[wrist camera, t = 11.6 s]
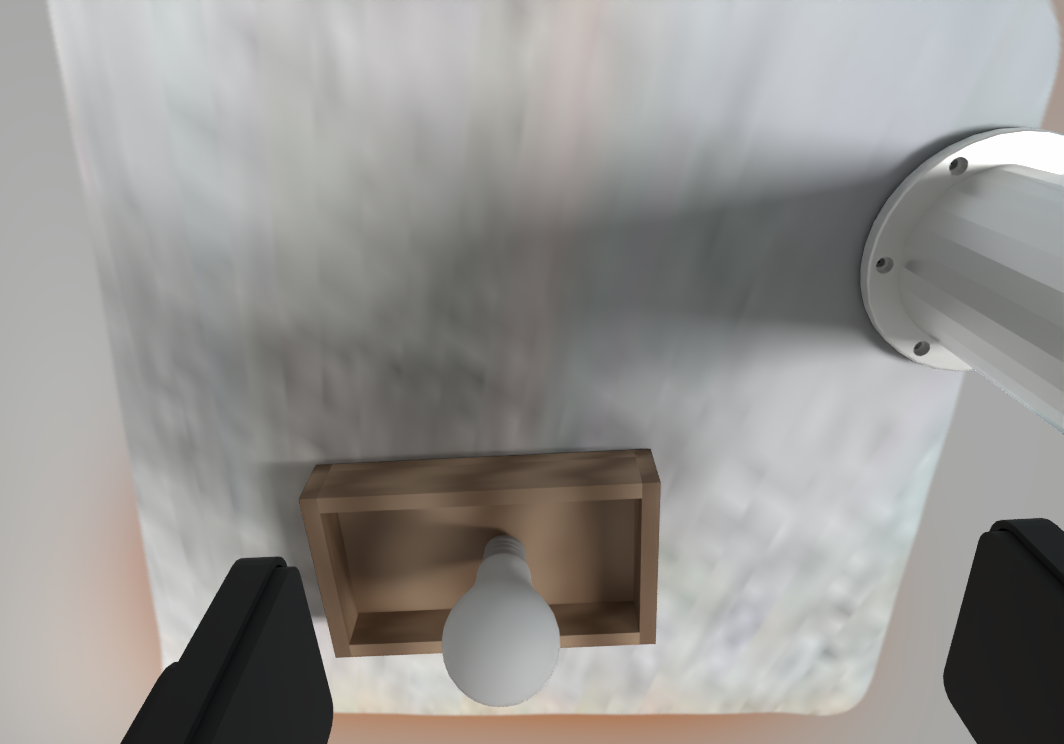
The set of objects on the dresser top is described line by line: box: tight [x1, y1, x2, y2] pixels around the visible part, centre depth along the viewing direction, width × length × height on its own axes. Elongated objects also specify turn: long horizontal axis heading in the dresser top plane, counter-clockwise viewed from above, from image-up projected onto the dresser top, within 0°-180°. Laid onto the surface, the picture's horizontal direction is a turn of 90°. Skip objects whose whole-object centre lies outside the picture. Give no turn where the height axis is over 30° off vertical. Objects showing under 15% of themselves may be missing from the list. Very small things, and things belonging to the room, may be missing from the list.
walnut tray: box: [299, 449, 661, 658], centre depth 43 cm, size 20×12×4 cm, turn 93°
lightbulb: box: [442, 535, 560, 707], centre depth 39 cm, size 6×6×11 cm
